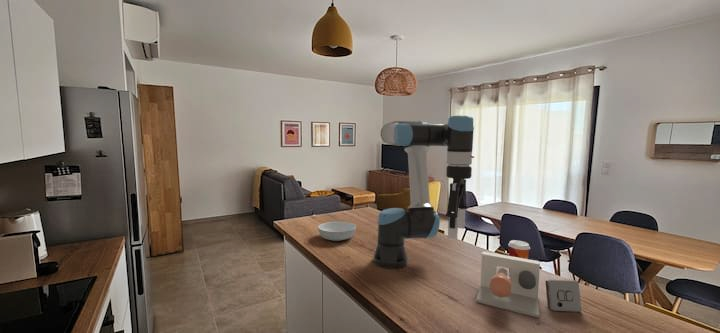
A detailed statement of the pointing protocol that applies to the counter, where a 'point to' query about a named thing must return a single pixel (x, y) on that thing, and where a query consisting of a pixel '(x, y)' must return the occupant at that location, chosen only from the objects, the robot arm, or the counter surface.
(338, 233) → the serving bowl
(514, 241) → the paper cup
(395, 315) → the counter surface
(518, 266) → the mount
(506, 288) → the knob
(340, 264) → the counter surface
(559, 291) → the electrical switch
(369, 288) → the counter surface
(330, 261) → the counter surface
